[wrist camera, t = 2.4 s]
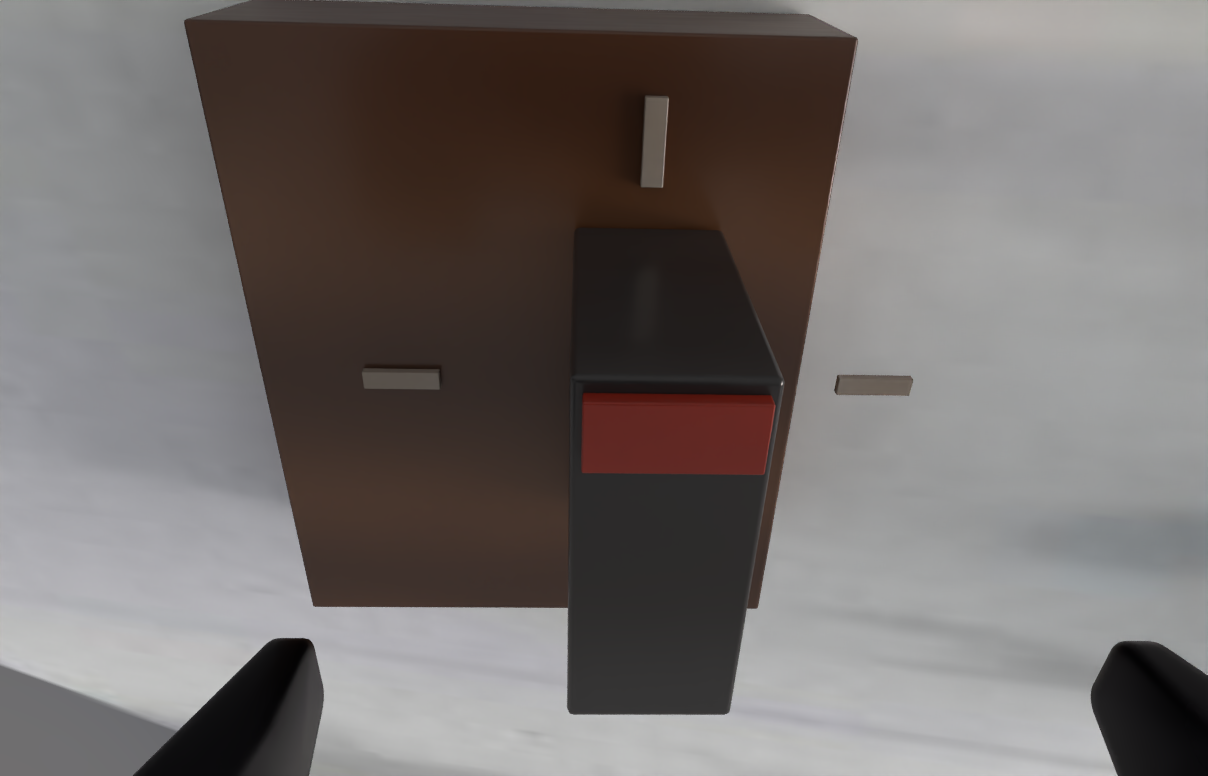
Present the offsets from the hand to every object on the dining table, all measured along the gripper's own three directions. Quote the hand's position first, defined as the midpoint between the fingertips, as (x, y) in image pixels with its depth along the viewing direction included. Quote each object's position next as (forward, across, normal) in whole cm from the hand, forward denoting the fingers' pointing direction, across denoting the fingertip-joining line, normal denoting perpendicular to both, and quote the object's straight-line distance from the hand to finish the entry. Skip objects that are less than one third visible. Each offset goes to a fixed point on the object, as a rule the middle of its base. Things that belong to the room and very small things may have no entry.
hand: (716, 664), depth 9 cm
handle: (+7, 0, 0) cm, 7 cm away
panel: (+10, +1, 0) cm, 10 cm away
